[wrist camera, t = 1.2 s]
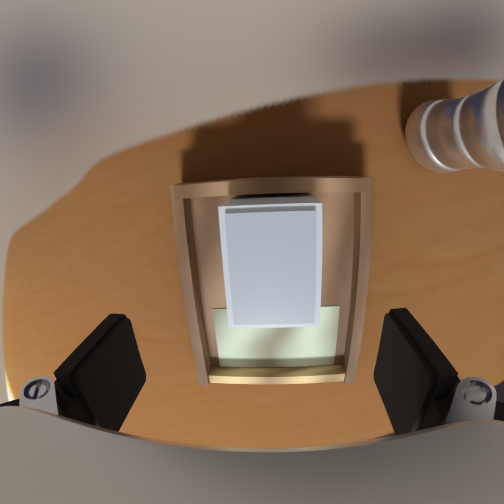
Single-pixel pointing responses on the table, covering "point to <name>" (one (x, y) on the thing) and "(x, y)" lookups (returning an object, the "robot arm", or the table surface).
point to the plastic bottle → (459, 132)
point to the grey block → (272, 259)
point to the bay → (288, 338)
